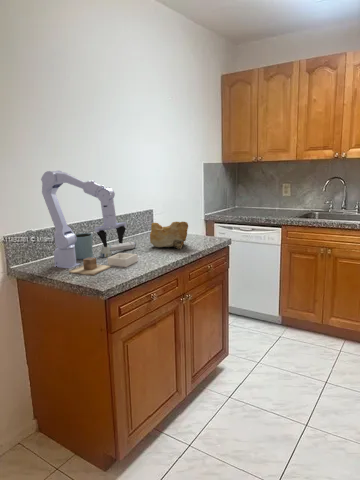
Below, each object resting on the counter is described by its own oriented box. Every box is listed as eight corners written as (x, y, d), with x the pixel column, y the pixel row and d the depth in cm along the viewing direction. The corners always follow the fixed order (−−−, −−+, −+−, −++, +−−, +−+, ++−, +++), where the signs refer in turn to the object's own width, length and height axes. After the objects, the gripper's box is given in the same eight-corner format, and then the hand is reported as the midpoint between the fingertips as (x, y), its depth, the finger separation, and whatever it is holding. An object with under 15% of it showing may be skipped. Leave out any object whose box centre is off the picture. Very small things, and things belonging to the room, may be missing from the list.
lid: (69, 272, 159) (68, 261, 158) (87, 264, 170) (86, 254, 169) (93, 275, 154) (92, 263, 153) (111, 267, 165) (110, 256, 164)
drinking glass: (97, 256, 189) (95, 233, 186) (87, 261, 179) (85, 237, 177) (80, 255, 192) (78, 232, 189) (69, 260, 182) (67, 236, 180)
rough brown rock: (198, 246, 206) (198, 220, 205) (184, 250, 192) (183, 222, 190) (163, 244, 218) (163, 219, 216) (147, 248, 204) (147, 221, 202)
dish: (108, 266, 169) (107, 257, 168) (119, 260, 178) (119, 252, 177) (126, 267, 165) (125, 259, 164) (137, 262, 174) (137, 254, 173)
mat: (67, 273, 159) (67, 272, 159) (87, 265, 171) (87, 264, 171) (93, 276, 153) (93, 275, 153) (112, 268, 166) (112, 266, 165)
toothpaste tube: (137, 241, 203) (105, 244, 182) (136, 253, 204) (105, 257, 182) (129, 241, 206) (97, 243, 185) (129, 252, 206) (97, 256, 185)
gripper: (97, 218, 155) (102, 249, 157) (127, 212, 163) (131, 242, 165) (91, 217, 160) (95, 247, 163) (120, 212, 168) (124, 241, 171)
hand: (113, 245), depth 164 cm, fingers open, 7 cm apart
